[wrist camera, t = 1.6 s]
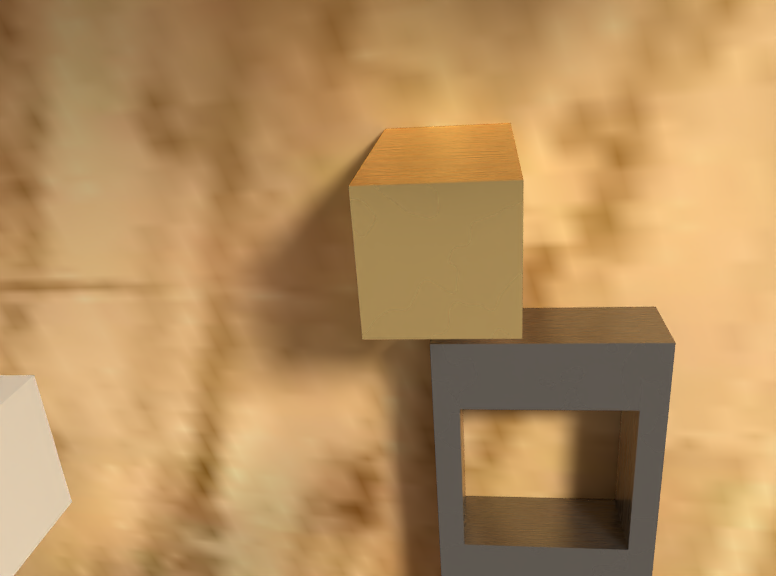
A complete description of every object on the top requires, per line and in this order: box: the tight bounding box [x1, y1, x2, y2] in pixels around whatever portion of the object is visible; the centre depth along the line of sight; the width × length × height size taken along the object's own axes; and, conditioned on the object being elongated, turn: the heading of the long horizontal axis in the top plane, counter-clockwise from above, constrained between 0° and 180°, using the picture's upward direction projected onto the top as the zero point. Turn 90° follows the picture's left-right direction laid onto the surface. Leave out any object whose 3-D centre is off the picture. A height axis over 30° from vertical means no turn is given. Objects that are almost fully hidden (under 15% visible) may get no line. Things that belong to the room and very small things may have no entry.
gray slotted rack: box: [430, 307, 675, 576], centre depth 31 cm, size 24×8×3 cm, turn 4°
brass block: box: [348, 123, 523, 340], centre depth 23 cm, size 4×4×8 cm
